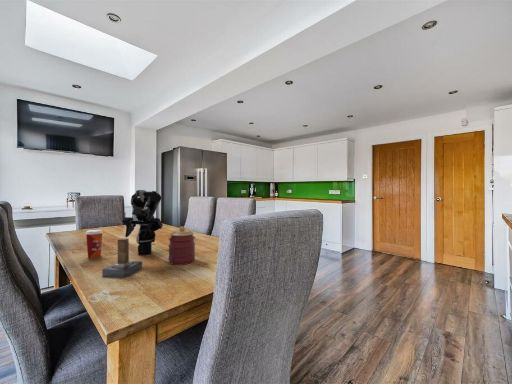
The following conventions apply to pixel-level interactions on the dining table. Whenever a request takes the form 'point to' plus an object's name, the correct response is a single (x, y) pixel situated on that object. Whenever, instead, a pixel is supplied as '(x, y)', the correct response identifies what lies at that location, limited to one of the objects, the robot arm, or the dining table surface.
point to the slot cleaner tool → (123, 253)
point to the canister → (181, 247)
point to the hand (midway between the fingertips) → (135, 237)
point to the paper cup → (94, 243)
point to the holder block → (122, 270)
